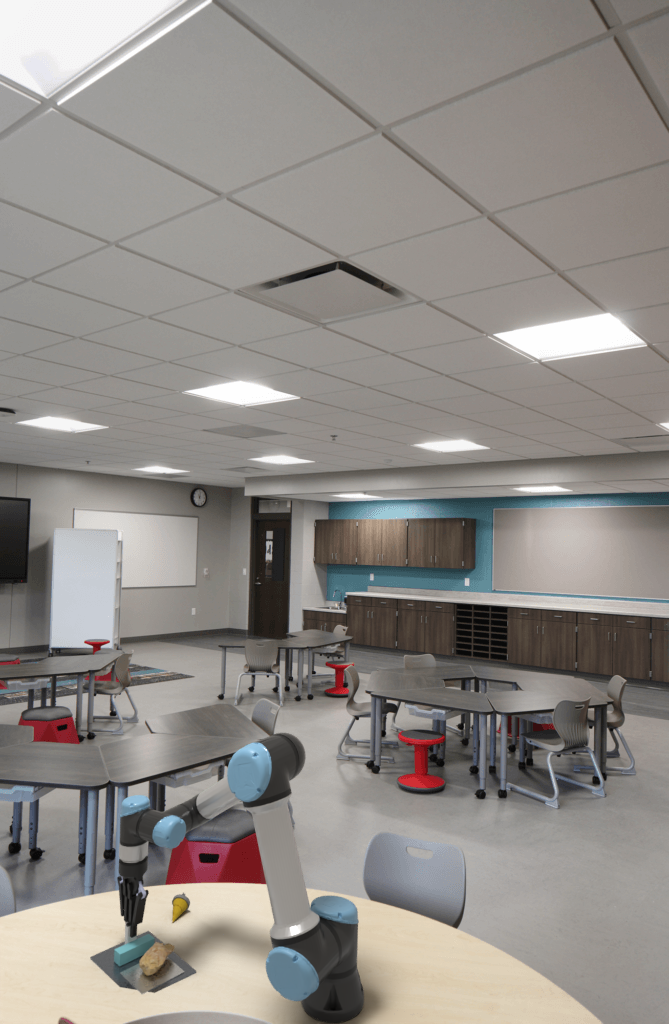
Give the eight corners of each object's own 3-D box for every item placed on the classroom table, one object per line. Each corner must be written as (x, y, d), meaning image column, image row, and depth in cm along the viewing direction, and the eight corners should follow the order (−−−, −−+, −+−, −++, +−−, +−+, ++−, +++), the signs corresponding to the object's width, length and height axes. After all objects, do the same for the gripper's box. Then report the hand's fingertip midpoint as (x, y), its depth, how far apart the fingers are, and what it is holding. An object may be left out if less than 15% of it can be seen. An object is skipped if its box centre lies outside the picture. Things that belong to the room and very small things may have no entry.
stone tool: (155, 959, 162) (152, 925, 171) (135, 980, 161) (133, 945, 170) (182, 972, 165) (177, 939, 174) (162, 993, 165) (158, 959, 174)
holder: (196, 974, 167) (196, 970, 167) (135, 1007, 155) (135, 1002, 155) (148, 934, 184) (148, 929, 184) (90, 960, 172) (90, 956, 172)
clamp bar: (154, 949, 175) (154, 938, 175) (119, 966, 168) (119, 954, 168) (148, 944, 177) (148, 933, 177) (113, 961, 170) (114, 949, 170)
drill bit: (194, 889, 198) (182, 918, 188) (192, 902, 199) (180, 931, 190) (177, 884, 198) (164, 913, 189) (176, 897, 200) (163, 926, 190)
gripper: (158, 860, 173) (155, 952, 172) (134, 844, 182) (131, 930, 181) (132, 870, 168) (129, 964, 167) (109, 853, 177) (105, 942, 176)
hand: (130, 947), depth 174 cm, fingers closed
